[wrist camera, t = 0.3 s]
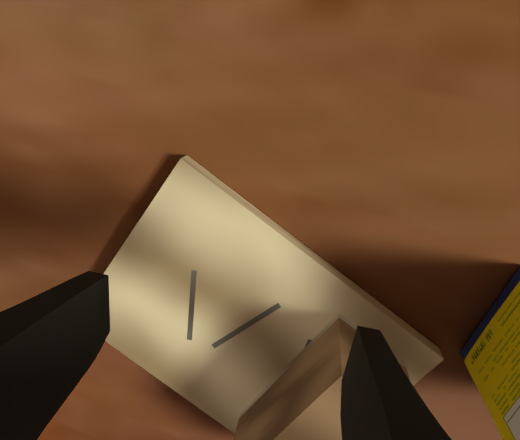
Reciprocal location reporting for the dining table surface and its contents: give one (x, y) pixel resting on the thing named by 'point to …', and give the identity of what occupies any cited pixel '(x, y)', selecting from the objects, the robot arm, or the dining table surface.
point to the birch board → (231, 297)
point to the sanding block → (304, 392)
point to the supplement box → (499, 360)
